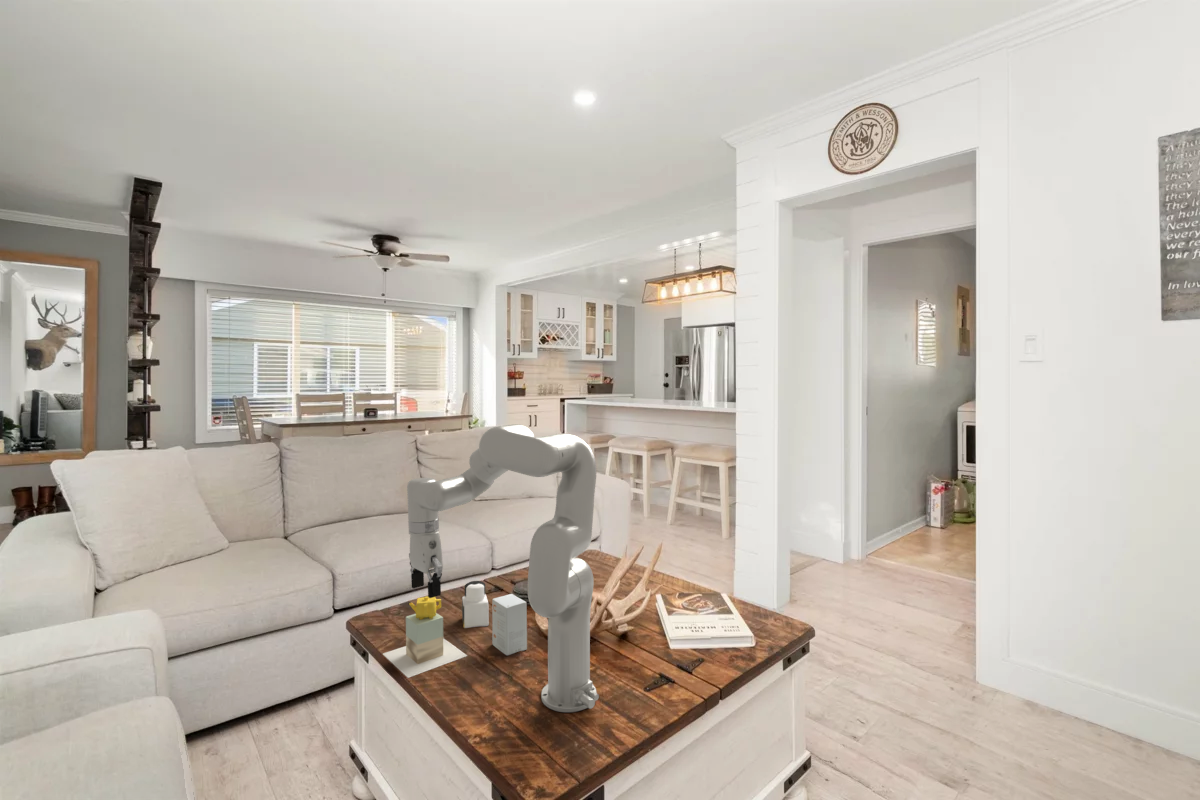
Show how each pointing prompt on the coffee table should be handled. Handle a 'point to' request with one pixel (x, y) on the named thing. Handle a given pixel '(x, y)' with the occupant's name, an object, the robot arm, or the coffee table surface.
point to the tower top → (424, 628)
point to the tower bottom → (424, 650)
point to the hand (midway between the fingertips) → (426, 591)
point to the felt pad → (413, 668)
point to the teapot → (426, 607)
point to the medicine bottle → (475, 605)
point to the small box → (509, 624)
